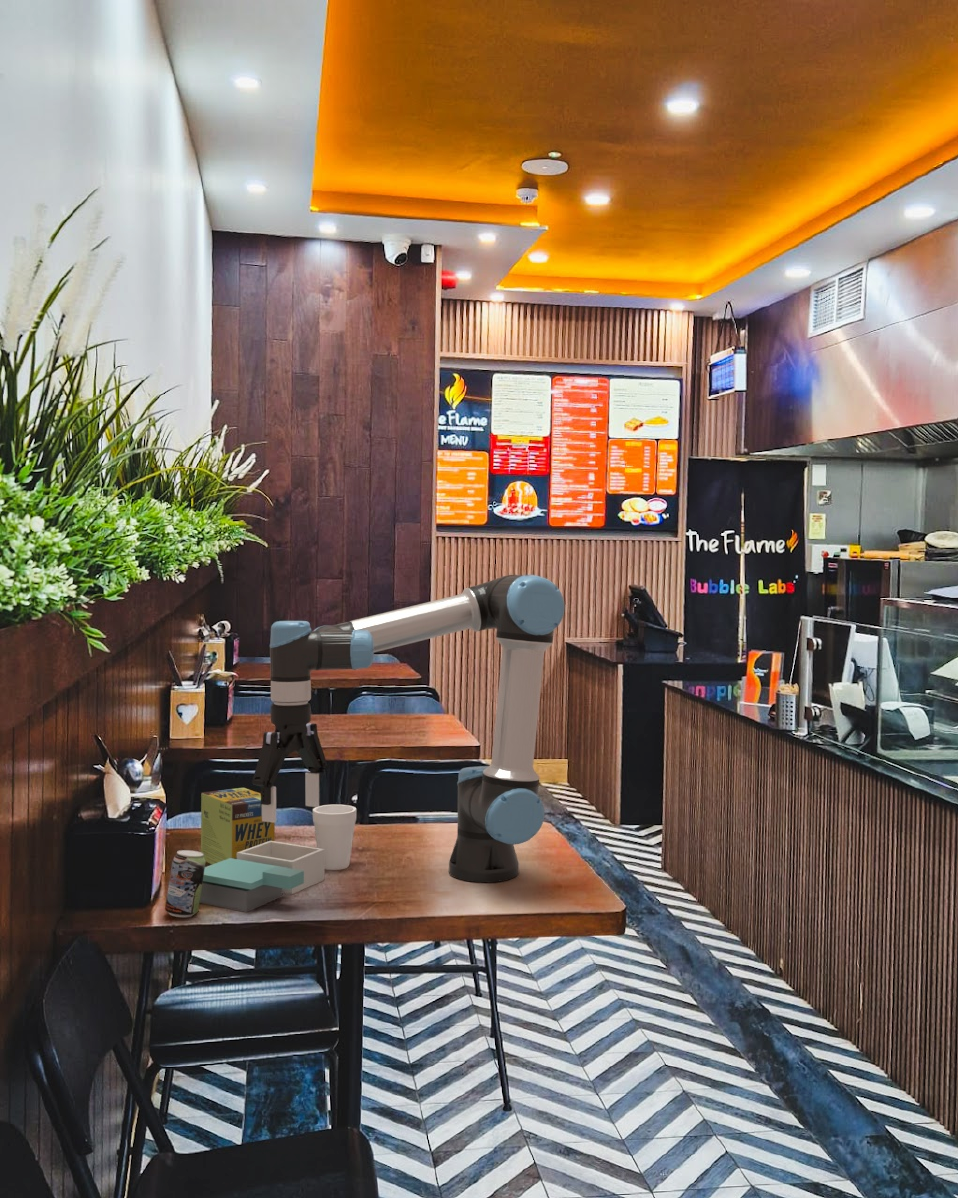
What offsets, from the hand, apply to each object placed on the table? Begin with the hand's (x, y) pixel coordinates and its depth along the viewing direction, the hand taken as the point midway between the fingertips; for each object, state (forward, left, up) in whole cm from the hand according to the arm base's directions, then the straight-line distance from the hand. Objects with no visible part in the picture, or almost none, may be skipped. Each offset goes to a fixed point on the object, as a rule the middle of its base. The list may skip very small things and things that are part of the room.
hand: (291, 813), depth 201 cm
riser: (+12, 0, -19) cm, 22 cm away
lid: (+9, 0, -14) cm, 17 cm away
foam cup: (+9, -28, -19) cm, 35 cm away
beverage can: (+16, +11, -19) cm, 27 cm away
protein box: (+29, -20, -19) cm, 40 cm away
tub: (+12, -13, -19) cm, 26 cm away
